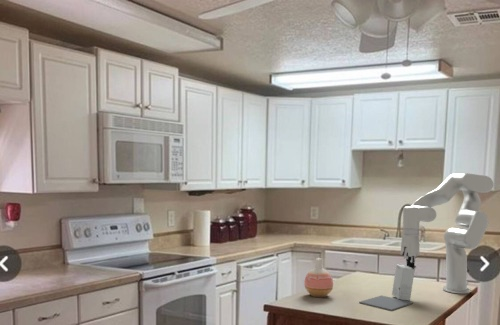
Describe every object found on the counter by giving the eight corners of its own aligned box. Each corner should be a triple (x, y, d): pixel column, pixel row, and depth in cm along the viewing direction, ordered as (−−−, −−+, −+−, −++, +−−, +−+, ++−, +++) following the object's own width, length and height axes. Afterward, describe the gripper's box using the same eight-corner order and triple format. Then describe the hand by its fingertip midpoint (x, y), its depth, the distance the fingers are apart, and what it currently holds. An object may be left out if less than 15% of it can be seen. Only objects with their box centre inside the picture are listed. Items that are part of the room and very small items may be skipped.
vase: (315, 291, 231) (315, 255, 232) (338, 296, 222) (339, 258, 222) (298, 295, 221) (298, 258, 222) (322, 301, 212) (322, 262, 212)
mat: (381, 296, 222) (381, 295, 222) (412, 303, 210) (412, 302, 210) (359, 303, 210) (359, 301, 210) (391, 310, 198) (391, 309, 198)
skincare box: (391, 295, 222) (395, 263, 223) (403, 296, 223) (407, 265, 224) (398, 299, 214) (402, 267, 215) (411, 301, 215) (415, 268, 215)
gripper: (411, 230, 233) (411, 267, 233) (395, 232, 223) (395, 271, 223) (425, 232, 228) (425, 270, 227) (410, 233, 218) (409, 273, 217)
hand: (410, 270), depth 225 cm, fingers closed
